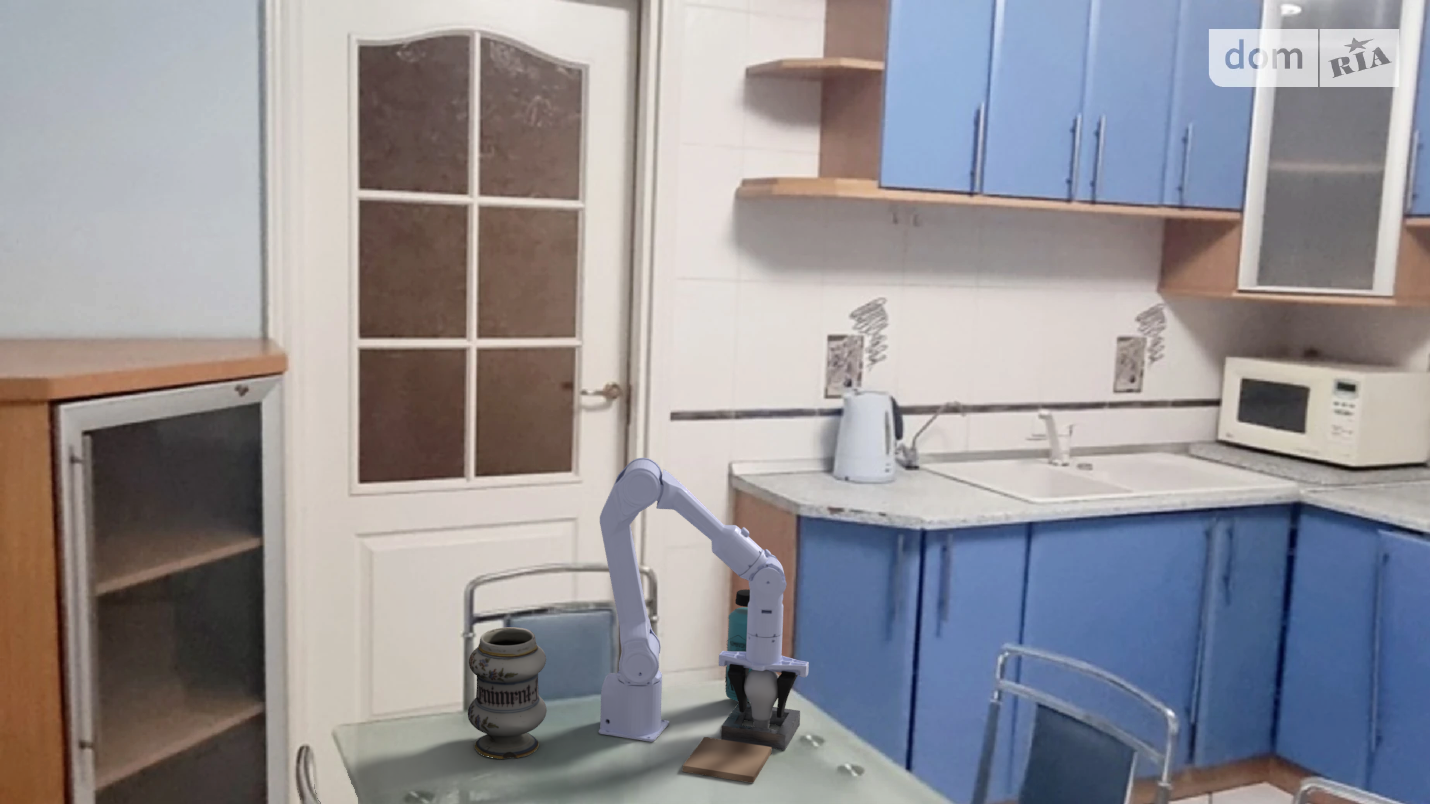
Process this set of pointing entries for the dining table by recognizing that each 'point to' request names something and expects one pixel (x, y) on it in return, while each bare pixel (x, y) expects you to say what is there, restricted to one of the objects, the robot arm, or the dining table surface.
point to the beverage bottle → (737, 633)
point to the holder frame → (761, 736)
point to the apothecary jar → (507, 692)
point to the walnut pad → (727, 759)
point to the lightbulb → (761, 695)
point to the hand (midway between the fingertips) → (761, 712)
